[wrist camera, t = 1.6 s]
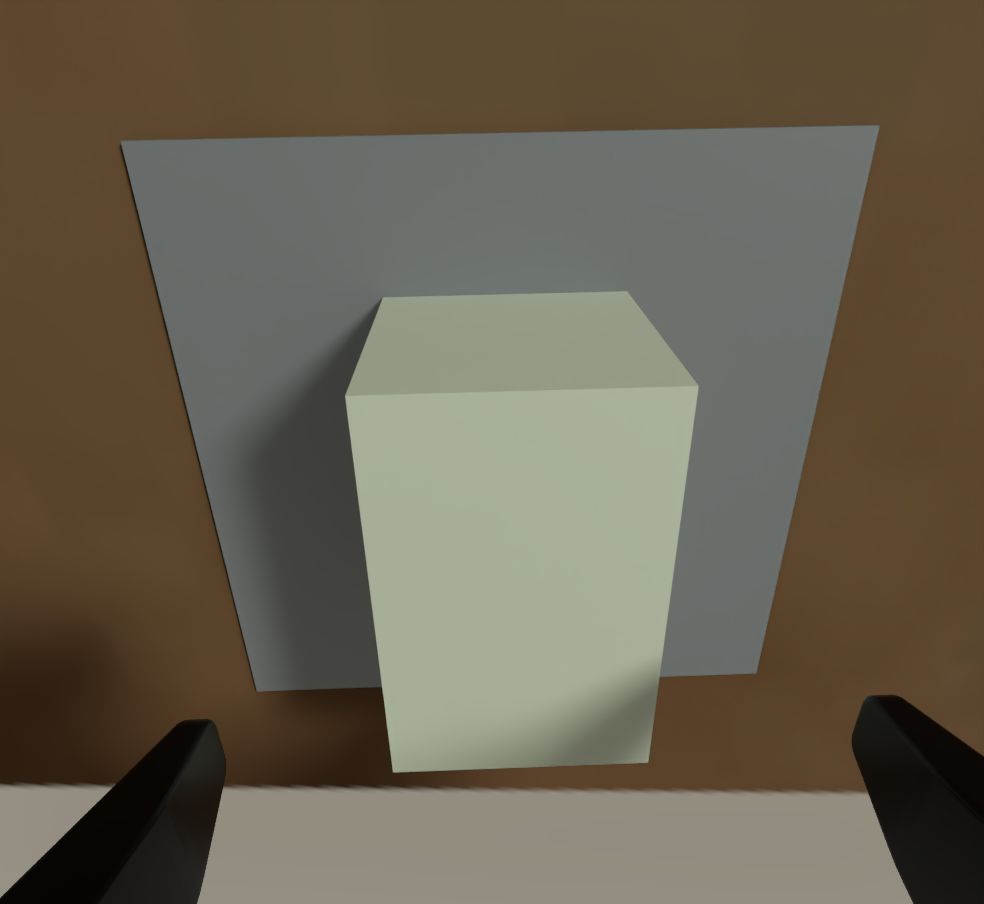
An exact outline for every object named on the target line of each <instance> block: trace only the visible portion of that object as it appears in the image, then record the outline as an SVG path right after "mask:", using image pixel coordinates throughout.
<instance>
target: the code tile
mask: <svg viewBox="0 0 984 904" xmlns="http://www.w3.org/2000/svg"><path fill="white" fill-rule="evenodd" d="M878 130H879V125H854V126H805V127H756V128H707V129H658V130H609V131H560V132H511V133H463V134H414V135H365V136H316V137H267V138H218V139H169V140H124V141H121V145H122V149H123V153H124V157H125V161H126V165H127V169H128V173H129V177H130V181H131V185H132V189H133V193H134V197H135V201H136V205H137V209H138V213H139V217H140V221H141V226H142V230H143V234H144V238H145V242H146V246H147V250H148V254H149V258H150V262H151V266H152V270H153V274H154V278H155V282H156V286H157V290H158V294H159V298H160V302H161V306H162V310H163V314H164V318H165V322H166V326H167V331H168V335H169V339H170V343H171V347H172V351H173V355H174V359H175V363H176V367H177V371H178V375H179V379H180V383H181V387H182V391H183V395H184V399H185V403H186V407H187V411H188V415H189V419H190V423H191V427H192V431H193V435H194V440H195V444H196V448H197V452H198V456H199V460H200V464H201V468H202V472H203V476H204V480H205V484H206V488H207V492H208V496H209V500H210V504H211V508H212V512H213V516H214V520H215V524H216V528H217V532H218V536H219V540H220V544H221V549H222V553H223V557H224V561H225V565H226V569H227V573H228V577H229V581H230V585H231V589H232V593H233V597H234V601H235V605H236V609H237V613H238V617H239V621H240V625H241V629H242V633H243V637H244V641H245V645H246V649H247V654H248V658H249V662H250V666H251V670H252V674H253V678H254V682H255V686H256V690H257V691H283V690H311V689H338V688H366V687H382V682H381V674H380V666H379V658H378V650H377V642H376V635H375V627H374V619H373V611H372V603H371V595H370V588H369V580H368V572H367V564H366V556H365V548H364V540H363V533H362V525H361V517H360V509H359V501H358V493H357V486H356V478H355V470H354V462H353V454H352V446H351V439H350V431H349V423H348V415H347V407H346V399H345V395H346V392H347V390H348V387H349V384H350V382H351V379H352V377H353V374H354V371H355V369H356V366H357V364H358V361H359V358H360V356H361V353H362V351H363V348H364V345H365V343H366V340H367V338H368V335H369V332H370V330H371V327H372V325H373V322H374V319H375V317H376V314H377V312H378V309H379V307H380V304H381V301H382V299H383V297H415V296H455V295H495V294H535V293H575V292H614V291H627V292H628V293H629V294H630V296H631V297H632V298H633V300H634V301H635V302H636V304H637V305H638V306H639V308H640V309H641V310H642V312H643V313H644V314H645V316H646V317H647V318H648V320H649V321H650V322H651V323H652V325H653V326H654V327H655V329H656V330H657V331H658V333H659V334H660V335H661V337H662V338H663V339H664V341H665V342H666V343H667V345H668V346H669V347H670V349H671V350H672V351H673V353H674V354H675V355H676V357H677V358H678V359H679V361H680V362H681V363H682V364H683V366H684V367H685V368H686V370H687V371H688V372H689V374H690V375H691V376H692V378H693V379H694V380H695V382H696V383H697V384H698V386H699V388H698V395H697V403H696V410H695V417H694V425H693V432H692V440H691V447H690V455H689V462H688V469H687V477H686V484H685V492H684V499H683V506H682V514H681V521H680V529H679V536H678V543H677V551H676V558H675V566H674V573H673V581H672V588H671V595H670V603H669V610H668V618H667V625H666V632H665V640H664V647H663V655H662V662H661V670H660V677H668V676H695V675H723V674H750V673H756V672H757V668H758V663H759V659H760V654H761V650H762V646H763V641H764V637H765V632H766V628H767V623H768V619H769V614H770V610H771V606H772V601H773V597H774V592H775V588H776V583H777V579H778V574H779V570H780V566H781V561H782V557H783V552H784V548H785V543H786V539H787V534H788V530H789V526H790V521H791V517H792V512H793V508H794V503H795V499H796V495H797V490H798V486H799V481H800V477H801V472H802V468H803V463H804V459H805V455H806V450H807V446H808V441H809V437H810V432H811V428H812V423H813V419H814V415H815V410H816V406H817V401H818V397H819V392H820V388H821V383H822V379H823V375H824V370H825V366H826V361H827V357H828V352H829V348H830V344H831V339H832V335H833V330H834V326H835V321H836V317H837V312H838V308H839V304H840V299H841V295H842V290H843V286H844V281H845V277H846V272H847V268H848V264H849V259H850V255H851V250H852V246H853V241H854V237H855V233H856V228H857V224H858V219H859V215H860V210H861V206H862V201H863V197H864V193H865V188H866V184H867V179H868V175H869V170H870V166H871V161H872V157H873V153H874V148H875V144H876V139H877V135H878Z"/></svg>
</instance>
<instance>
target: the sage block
mask: <svg viewBox="0 0 984 904" xmlns="http://www.w3.org/2000/svg"><path fill="white" fill-rule="evenodd" d="M698 388H699V386H698V384H697V383H696V382H695V380H694V379H693V378H692V376H691V375H690V374H689V372H688V371H687V370H686V368H685V367H684V366H683V364H682V363H681V362H680V361H679V359H678V358H677V357H676V355H675V354H674V353H673V351H672V350H671V349H670V347H669V346H668V345H667V343H666V342H665V341H664V339H663V338H662V337H661V335H660V334H659V333H658V331H657V330H656V329H655V327H654V326H653V325H652V323H651V322H650V321H649V320H648V318H647V317H646V316H645V314H644V313H643V312H642V310H641V309H640V308H639V306H638V305H637V304H636V302H635V301H634V300H633V298H632V297H631V296H630V294H629V293H628V292H627V291H614V292H575V293H535V294H495V295H455V296H415V297H383V299H382V301H381V304H380V307H379V309H378V312H377V314H376V317H375V319H374V322H373V325H372V327H371V330H370V332H369V335H368V338H367V340H366V343H365V345H364V348H363V351H362V353H361V356H360V358H359V361H358V364H357V366H356V369H355V371H354V374H353V377H352V379H351V382H350V384H349V387H348V390H347V392H346V395H345V399H346V407H347V415H348V423H349V431H350V439H351V446H352V454H353V462H354V470H355V478H356V486H357V493H358V501H359V509H360V517H361V525H362V533H363V540H364V548H365V556H366V564H367V572H368V580H369V588H370V595H371V603H372V611H373V619H374V627H375V635H376V642H377V650H378V658H379V666H380V674H381V682H382V689H383V697H384V705H385V713H386V721H387V729H388V737H389V744H390V752H391V760H392V768H393V772H418V771H444V770H470V769H496V768H521V767H547V766H573V765H598V764H624V763H648V759H649V751H650V744H651V736H652V729H653V721H654V714H655V707H656V699H657V692H658V684H659V677H660V670H661V662H662V655H663V647H664V640H665V632H666V625H667V618H668V610H669V603H670V595H671V588H672V581H673V573H674V566H675V558H676V551H677V543H678V536H679V529H680V521H681V514H682V506H683V499H684V492H685V484H686V477H687V469H688V462H689V455H690V447H691V440H692V432H693V425H694V417H695V410H696V403H697V395H698Z"/></svg>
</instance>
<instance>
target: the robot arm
mask: <svg viewBox="0 0 984 904" xmlns="http://www.w3.org/2000/svg"><path fill="white" fill-rule="evenodd" d="M852 748H853V752H854V756H855V758H856V761H857V764H858V766H859V769H860V772H861V775H862V777H863V780H864V783H865V785H866V788H867V791H868V794H869V796H870V799H871V802H872V804H873V807H874V810H875V813H876V815H877V818H878V820H879V823H880V826H881V828H882V832H883V834H884V837H885V840H886V842H887V845H888V848H889V850H890V853H891V855H892V858H893V860H894V863H895V865H896V867H897V869H898V872H899V874H900V876H901V878H902V880H903V883H904V885H905V887H906V889H907V891H908V893H909V895H910V897H911V900H912V902H913V904H984V756H982V755H981V754H980V753H978V752H977V751H975V750H974V749H973V748H971V747H970V746H968V745H967V744H966V743H964V742H963V741H962V740H960V739H959V738H957V737H956V736H955V735H953V734H952V733H950V732H949V731H948V730H946V729H945V728H943V727H942V726H941V725H939V724H938V723H937V722H935V721H934V720H932V719H931V718H930V717H928V716H927V715H925V714H924V713H923V712H921V711H920V710H918V709H917V708H916V707H914V706H913V705H912V704H910V703H909V702H907V701H906V700H904V699H903V698H901V697H899V696H896V695H872V696H868V697H867V698H866V699H865V700H864V701H863V703H862V706H861V709H860V712H859V715H858V718H857V721H856V724H855V727H854V730H853V734H852ZM225 775H226V759H225V755H224V751H223V748H222V744H221V741H220V738H219V734H218V731H217V728H216V725H215V723H214V722H213V721H212V720H210V719H195V720H184V721H182V722H180V723H178V724H177V725H176V726H175V727H174V728H173V729H172V730H171V731H170V732H169V733H168V734H167V735H166V736H165V737H164V738H163V739H162V740H161V741H160V742H159V743H158V744H157V745H156V746H155V747H153V748H152V749H151V750H150V751H149V752H148V753H147V754H146V755H145V756H144V757H143V758H142V759H141V760H140V761H139V762H138V763H137V764H136V765H135V766H134V767H133V768H132V769H131V770H130V771H129V772H128V773H127V774H126V775H125V776H124V777H123V778H122V779H121V780H120V781H119V782H118V783H117V784H116V785H115V786H114V787H113V788H112V789H111V790H110V791H109V792H108V793H107V794H106V795H105V796H104V797H103V798H102V799H101V800H100V801H99V802H97V804H96V805H94V806H93V807H92V808H91V810H89V811H88V812H87V813H86V814H85V815H84V816H83V817H82V818H81V819H80V820H79V821H78V822H77V823H76V824H75V825H74V826H73V827H72V828H71V829H70V830H69V831H68V832H67V833H66V834H65V835H64V836H63V837H62V838H61V839H60V840H59V841H58V842H57V843H56V844H55V845H54V846H53V847H52V848H51V849H50V850H49V851H48V852H47V853H46V854H45V855H44V856H43V857H41V859H40V860H38V861H37V863H36V864H34V865H33V866H32V867H31V868H30V869H29V870H28V871H27V872H26V873H25V874H24V875H23V876H22V877H21V878H20V879H19V880H18V881H17V882H16V883H15V884H14V885H13V886H12V887H11V888H10V889H9V890H8V891H7V892H6V893H5V894H4V895H3V896H2V897H1V898H0V904H197V902H198V898H199V895H200V891H201V887H202V883H203V878H204V874H205V870H206V865H207V859H208V855H209V851H210V846H211V841H212V837H213V832H214V827H215V822H216V818H217V813H218V808H219V804H220V799H221V794H222V790H223V785H224V780H225Z"/></svg>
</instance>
